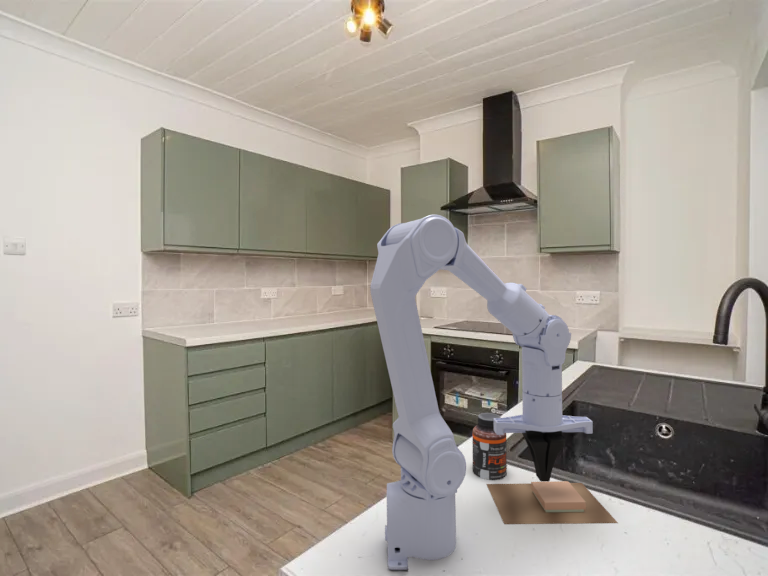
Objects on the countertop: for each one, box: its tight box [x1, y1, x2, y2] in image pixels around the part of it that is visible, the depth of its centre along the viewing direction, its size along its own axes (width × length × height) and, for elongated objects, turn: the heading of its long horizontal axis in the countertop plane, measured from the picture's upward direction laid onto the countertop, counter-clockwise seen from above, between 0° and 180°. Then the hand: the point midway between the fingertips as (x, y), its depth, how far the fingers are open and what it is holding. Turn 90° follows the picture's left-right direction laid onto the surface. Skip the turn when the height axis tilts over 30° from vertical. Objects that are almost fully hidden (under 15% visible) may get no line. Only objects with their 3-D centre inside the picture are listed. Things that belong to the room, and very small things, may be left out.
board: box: [486, 482, 619, 525], centre depth 63 cm, size 16×11×1 cm
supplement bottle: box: [471, 412, 508, 481], centre depth 73 cm, size 6×6×11 cm
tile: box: [530, 480, 586, 512], centre depth 63 cm, size 2×6×6 cm
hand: (542, 478), depth 63 cm, fingers closed
